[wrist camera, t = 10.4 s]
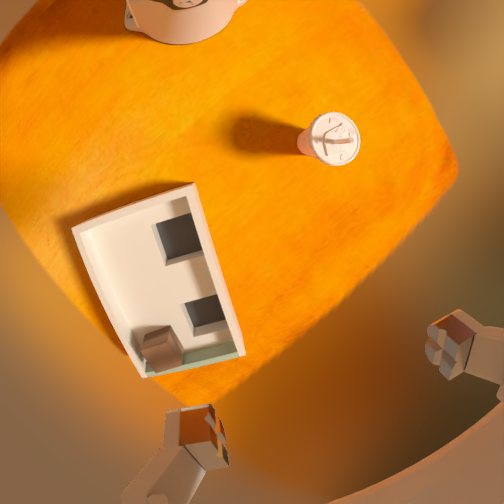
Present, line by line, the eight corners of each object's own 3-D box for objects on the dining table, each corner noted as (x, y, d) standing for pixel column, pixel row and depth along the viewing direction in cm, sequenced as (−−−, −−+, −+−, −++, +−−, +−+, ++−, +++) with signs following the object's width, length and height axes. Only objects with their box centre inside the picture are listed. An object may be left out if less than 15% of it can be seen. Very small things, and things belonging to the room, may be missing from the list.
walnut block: (145, 334, 41) (139, 351, 36) (170, 325, 41) (167, 342, 37) (159, 355, 42) (155, 373, 38) (183, 347, 42) (182, 365, 38)
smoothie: (279, 149, 38) (313, 144, 25) (300, 113, 37) (342, 92, 24) (316, 172, 40) (364, 179, 27) (336, 137, 39) (389, 129, 26)
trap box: (88, 219, 37) (71, 228, 32) (194, 182, 38) (192, 185, 33) (148, 355, 45) (142, 378, 40) (241, 333, 46) (246, 354, 41)
